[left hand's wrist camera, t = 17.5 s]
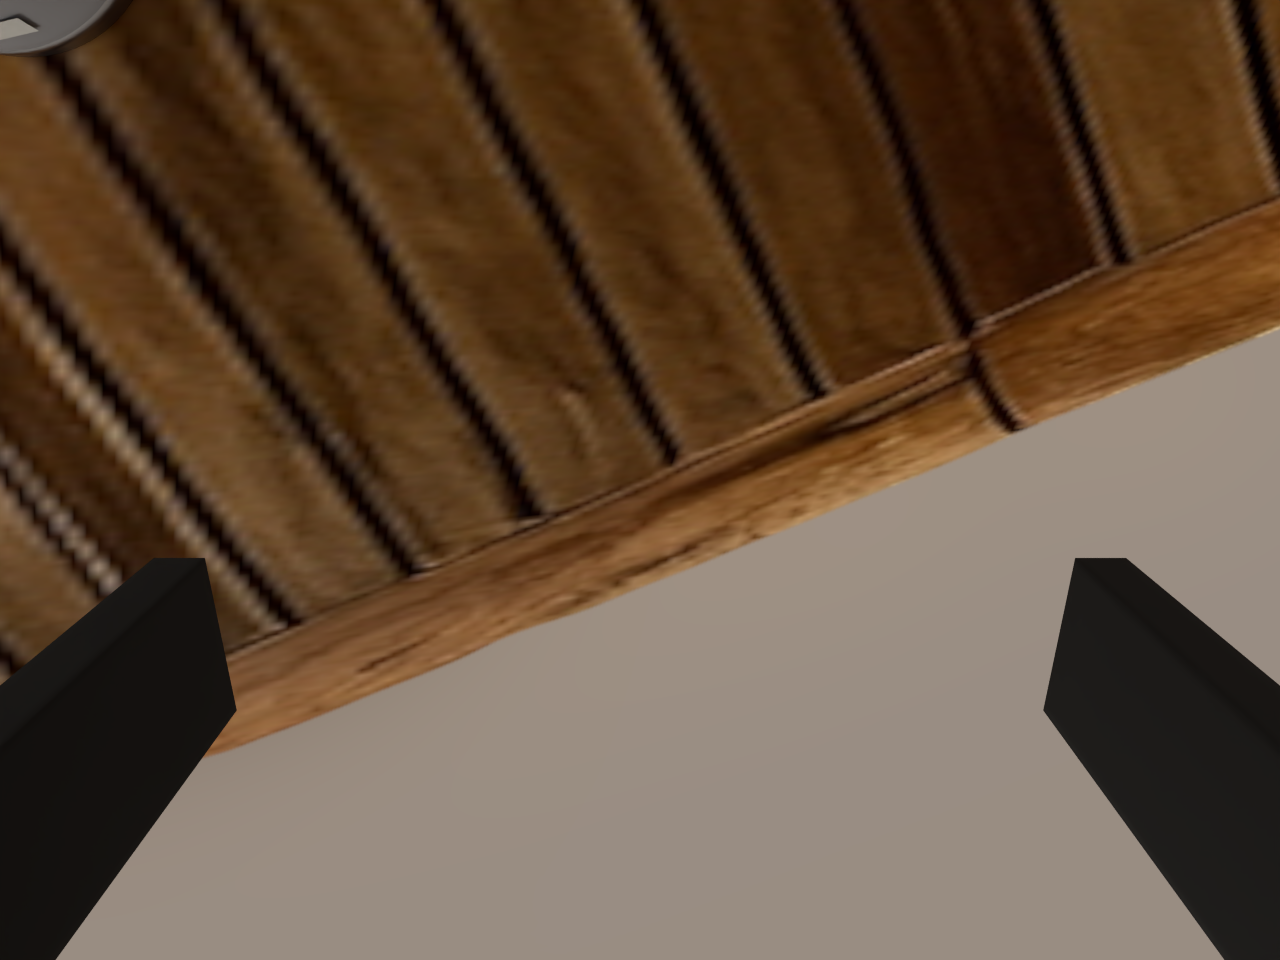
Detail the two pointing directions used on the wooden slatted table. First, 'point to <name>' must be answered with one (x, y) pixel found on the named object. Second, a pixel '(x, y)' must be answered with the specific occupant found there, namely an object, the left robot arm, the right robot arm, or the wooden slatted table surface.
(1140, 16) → the wooden slatted table surface
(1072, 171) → the wooden slatted table surface
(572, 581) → the wooden slatted table surface
